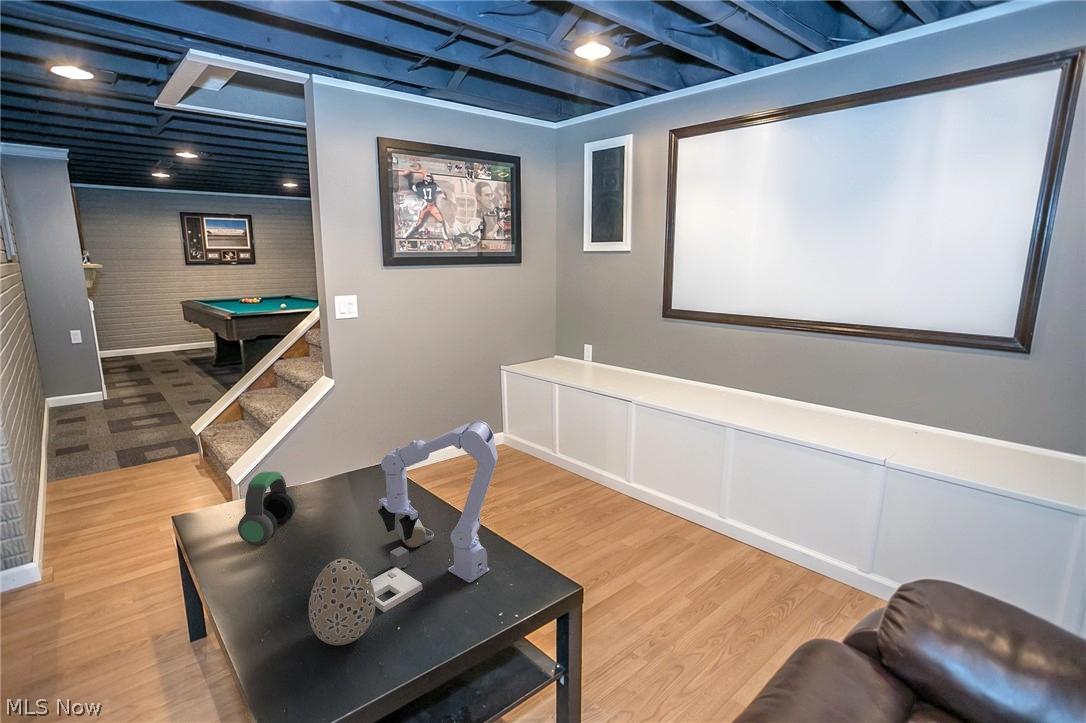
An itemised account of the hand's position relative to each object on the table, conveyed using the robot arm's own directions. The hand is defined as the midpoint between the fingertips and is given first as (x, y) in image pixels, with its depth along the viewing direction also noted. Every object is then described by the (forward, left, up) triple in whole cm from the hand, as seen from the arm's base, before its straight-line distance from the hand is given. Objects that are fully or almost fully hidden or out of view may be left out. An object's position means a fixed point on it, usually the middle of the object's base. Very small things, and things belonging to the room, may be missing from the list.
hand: (399, 534), depth 153 cm
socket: (-9, +10, -9) cm, 16 cm away
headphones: (+48, +17, -10) cm, 52 cm away
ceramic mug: (+7, -11, -10) cm, 16 cm away
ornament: (-15, +27, -10) cm, 32 cm away
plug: (-1, +1, -9) cm, 10 cm away
